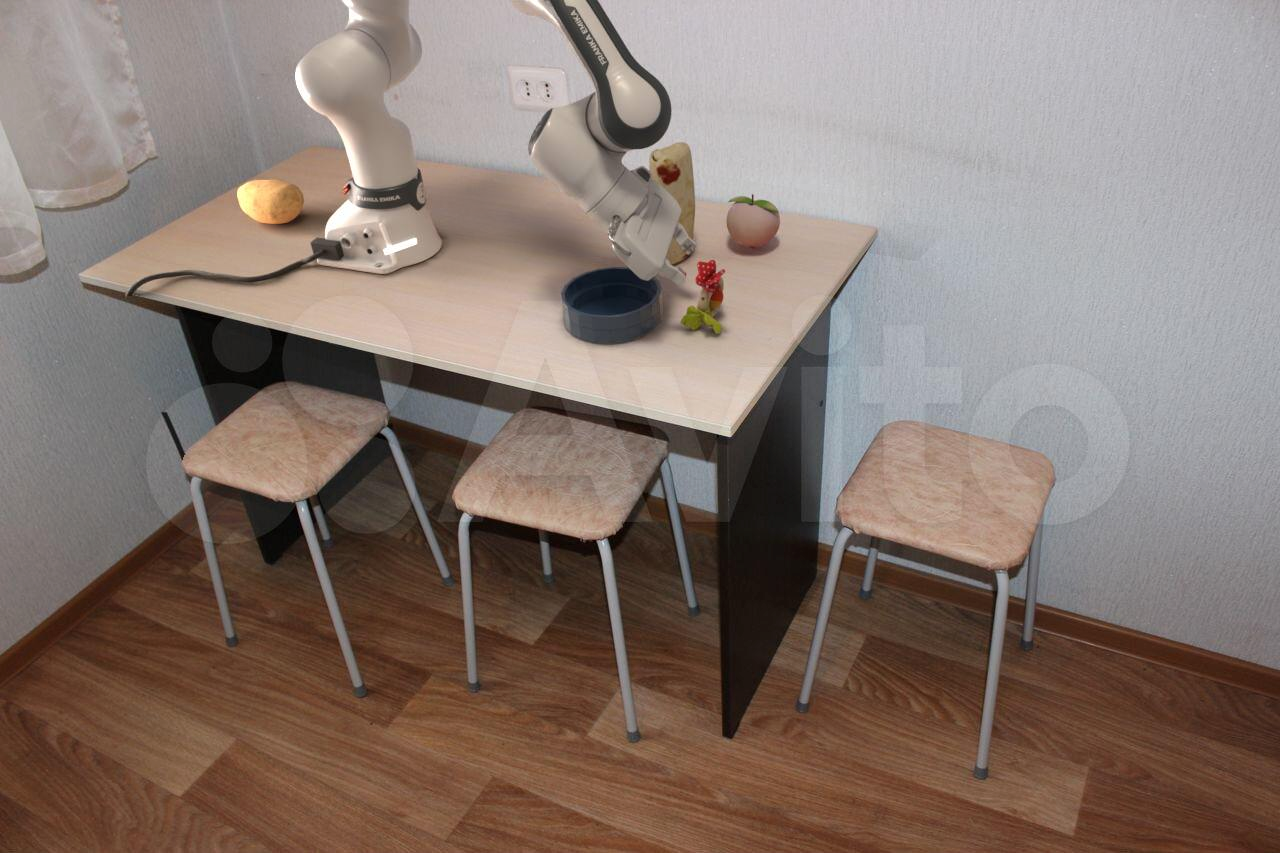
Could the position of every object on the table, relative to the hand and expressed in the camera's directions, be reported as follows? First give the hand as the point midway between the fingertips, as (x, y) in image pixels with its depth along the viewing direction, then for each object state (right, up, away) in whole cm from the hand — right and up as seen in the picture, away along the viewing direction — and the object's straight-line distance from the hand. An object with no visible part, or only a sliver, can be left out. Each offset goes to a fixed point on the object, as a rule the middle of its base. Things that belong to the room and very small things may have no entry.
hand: (688, 265), depth 157 cm
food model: (-1, +5, +23) cm, 24 cm away
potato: (-78, +15, +46) cm, 92 cm away
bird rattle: (+3, -8, +5) cm, 10 cm away
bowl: (-11, -7, +8) cm, 16 cm away
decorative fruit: (+12, +6, +24) cm, 27 cm away
